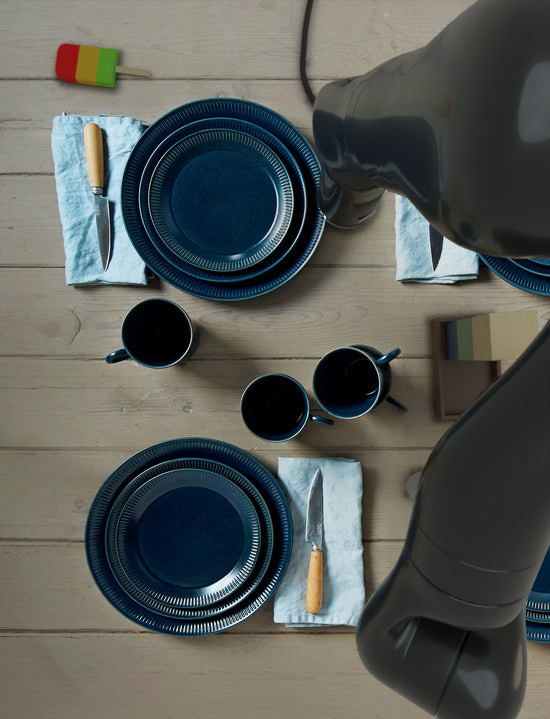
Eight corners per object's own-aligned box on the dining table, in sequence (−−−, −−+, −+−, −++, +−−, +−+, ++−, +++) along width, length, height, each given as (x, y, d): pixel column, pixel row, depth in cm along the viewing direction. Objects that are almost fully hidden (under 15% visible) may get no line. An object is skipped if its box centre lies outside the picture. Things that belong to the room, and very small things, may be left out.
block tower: (443, 323, 87) (489, 313, 66) (480, 321, 86) (537, 310, 66) (445, 360, 87) (491, 360, 66) (482, 358, 86) (540, 357, 66)
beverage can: (400, 492, 87) (416, 513, 75) (414, 464, 87) (433, 481, 75) (427, 506, 87) (448, 530, 75) (442, 479, 87) (465, 498, 75)
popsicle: (62, 47, 89) (57, 40, 88) (155, 59, 89) (152, 52, 87) (57, 82, 90) (52, 76, 88) (150, 94, 89) (147, 88, 87)
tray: (430, 319, 87) (435, 318, 84) (490, 316, 87) (498, 314, 84) (436, 417, 87) (441, 419, 84) (496, 414, 87) (503, 416, 84)
